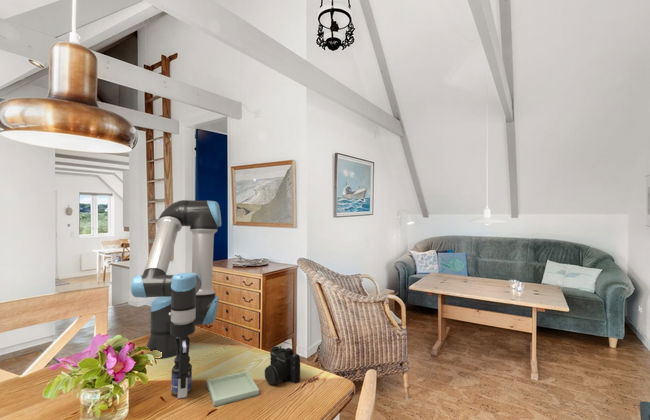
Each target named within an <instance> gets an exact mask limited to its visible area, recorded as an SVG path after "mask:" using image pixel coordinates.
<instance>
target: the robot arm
mask: <svg viewBox="0 0 650 420" xmlns="http://www.w3.org/2000/svg"><path fill="white" fill-rule="evenodd" d="M220 208H221V207H220V204H219V203H218V201H214V200H191V199H190V200H187V199H183V200H181V199H180V200H177V201H175V202H173V203H171V204H170V205H169V206H167V207H166V208H165V209H164V210H163V211H161V212H162V213H160V215H159V217H158V219H157V223H156V225H157V230H156V234H155V236H154V240H153V243H152V246H151V248H150V252H149V255H148V258H147V261H146V264H145V266H144V270H143V273H142V274H140V275H136V276H134V277H133V278H132V280H131V285H130V291H131V295H132V296H133V297H134V298H145V299H147V298H154V299H153V300H152V301H151V305H150V306H151V307H150V308H151V309H150V335H149V337H148V339H147V344H146V346H145V348H146V347H148V348H149V349H150V351H153V350H158V351H160V352H162V357H161V358H160V359H166V358H170V357H174V356H175V358H176V357H178V356H179V377H176V379H178V396H177V399H178V400H179V399H182V398H187V397H188V394H187V381H188V376H189V374H188V363H190V362H189V357H190V356H189V354H190V342H191V340H190V336H189V335H192V334H194V333H195V331H196V326H200V325H201V326H205V325H211V324H213V323H214V322H215V320H216V317H217V312H218V308H219V299H220V296H218V295H216V291H215V290H214V289H213V269H214V268H213V264H214V242H215V241H214V239H215V234H216V233H217V232H218V230H219V229H218V228H219V227H220V228H221V226H222V215H221V209H220ZM183 227H189V231H190V232H191V233H192V234H193V239H192V256H191V257H192V263H191V266H192V267H191V272H180V273H175V274H167V272H168V269H169V265H170V262H171V258H172V254H173V251H174V247H175V244H176V241H177V236H178V232H180V231H181V230H182V228H183Z"/></svg>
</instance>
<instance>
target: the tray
mask: <svg viewBox="0 0 650 420" xmlns="http://www.w3.org/2000/svg"><path fill="white" fill-rule="evenodd" d="M206 387H207V390H208V393H209V396H210V399H211V402H212V405H213V407H214V408H215V407H219V406H223V405H226V404H231V403H234V402H235V403H236V402H239V401H243V400H246V399H249V398H253V397H257V396H260V388H259V387H258V386H257V384H256V383H255V381H254V379H253V378H252V376H251V375H250V373H249V371H247V370H245V371H242V372H236V373H233V374H227V375H223V376H218V377H214V378H210V379H206Z"/></svg>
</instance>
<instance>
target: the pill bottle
mask: <svg viewBox="0 0 650 420" xmlns="http://www.w3.org/2000/svg"><path fill="white" fill-rule="evenodd" d="M173 361H174V362H173V363H174V365H173V366H172V368H171V383H170V384H171V388H170V392H171V395H172V396H174V397H178V379H176V377H179V356H178V357H176V356H175V358H174V360H173ZM190 361H191V356H189V363H188V374H189V376H188V381H187V395H188V394H190V393H191V391H192V383H193V382H192V379H193V376H192V374H193V373H192V372H193V365H192V364H191V363H190Z"/></svg>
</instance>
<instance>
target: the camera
mask: <svg viewBox="0 0 650 420" xmlns="http://www.w3.org/2000/svg"><path fill="white" fill-rule="evenodd" d="M269 355H270V358H269V359H270V361H269V362H270V364H269V365H268V366H266V367H265V368H264V374H263V375H264V378H265V380H266V382H267V384H269V385H277V384H278V383H280V382H290V383H293V384H298V383H299V382H300V381H301V356H300V355H299V354H298V353H294V349H293V348H290V347H287V348H284V347H282V345H279V346H278V345H276V346H275V345H274V346H272V348H271V349H270V351H269Z"/></svg>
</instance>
